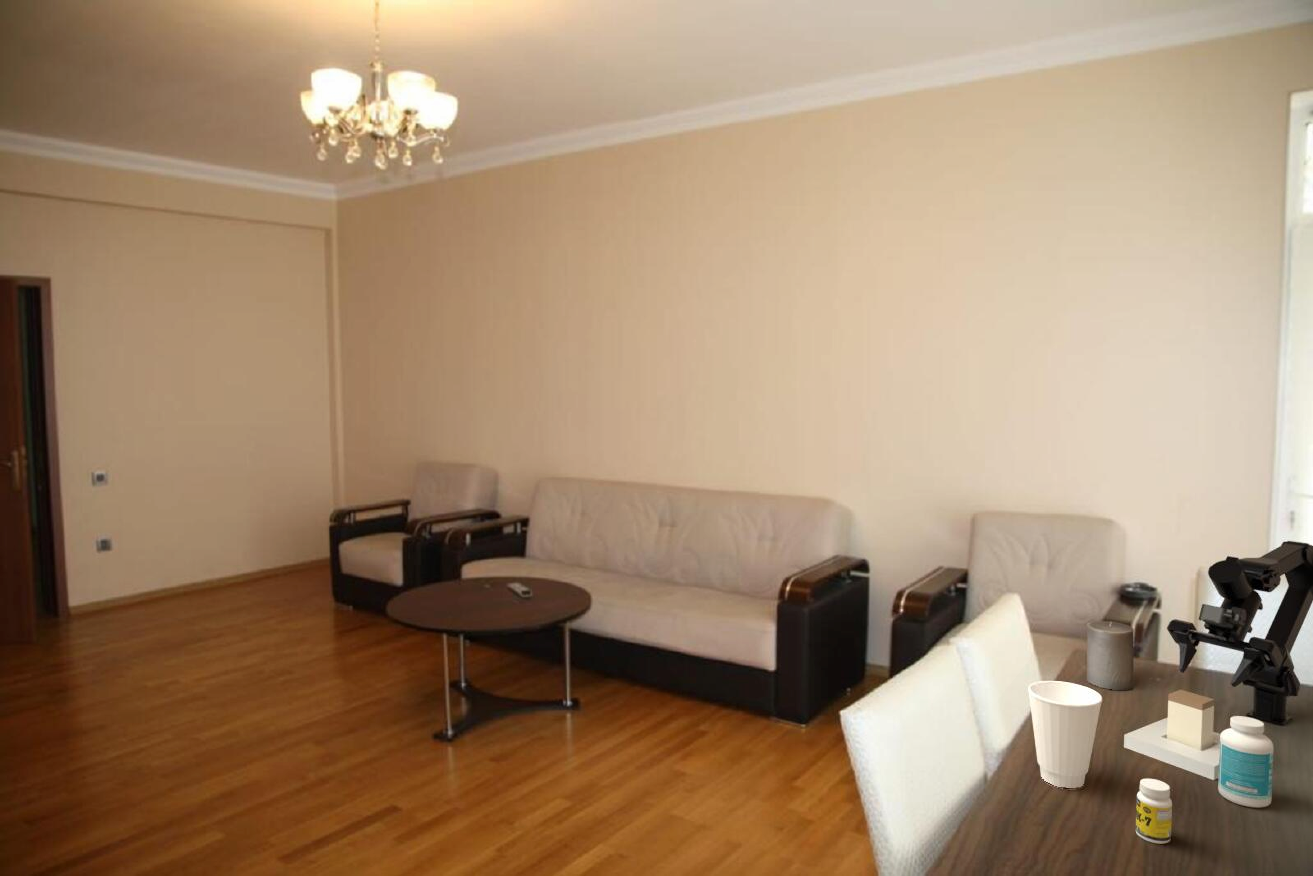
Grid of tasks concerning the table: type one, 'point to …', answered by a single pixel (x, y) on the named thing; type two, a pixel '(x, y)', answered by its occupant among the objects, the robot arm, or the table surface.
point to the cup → (1064, 730)
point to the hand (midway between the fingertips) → (1206, 678)
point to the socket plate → (1174, 750)
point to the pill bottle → (1246, 763)
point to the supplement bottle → (1154, 811)
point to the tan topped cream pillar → (1190, 719)
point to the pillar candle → (1110, 655)
